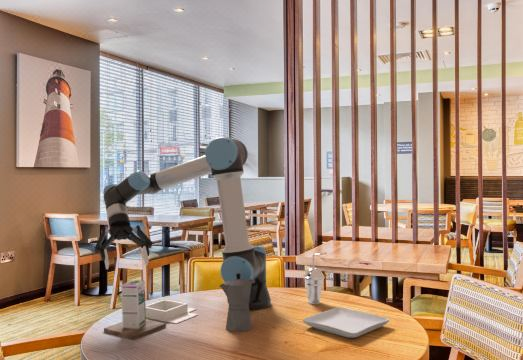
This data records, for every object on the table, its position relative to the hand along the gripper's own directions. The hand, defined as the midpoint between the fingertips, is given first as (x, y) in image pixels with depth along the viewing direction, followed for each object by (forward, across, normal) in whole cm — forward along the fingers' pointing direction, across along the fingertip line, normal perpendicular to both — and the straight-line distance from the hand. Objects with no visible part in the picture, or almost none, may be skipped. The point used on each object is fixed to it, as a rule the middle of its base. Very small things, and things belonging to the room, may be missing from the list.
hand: (127, 265), depth 164 cm
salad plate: (+45, -61, +16) cm, 78 cm away
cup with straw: (+23, -70, -5) cm, 74 cm away
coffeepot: (+32, -32, +4) cm, 45 cm away
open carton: (+14, -17, -14) cm, 26 cm away
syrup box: (+20, 0, -6) cm, 21 cm away
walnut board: (+21, 0, -7) cm, 22 cm away
